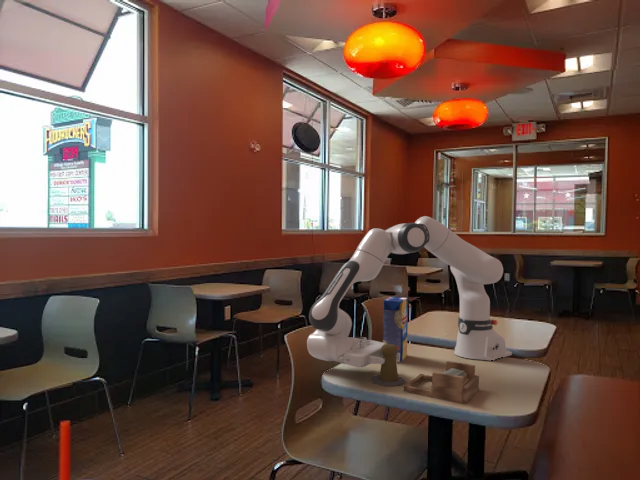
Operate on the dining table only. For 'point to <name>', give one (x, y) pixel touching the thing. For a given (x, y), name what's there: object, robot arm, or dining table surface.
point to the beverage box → (396, 324)
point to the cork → (389, 363)
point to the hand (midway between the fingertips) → (390, 357)
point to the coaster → (376, 380)
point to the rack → (448, 383)
